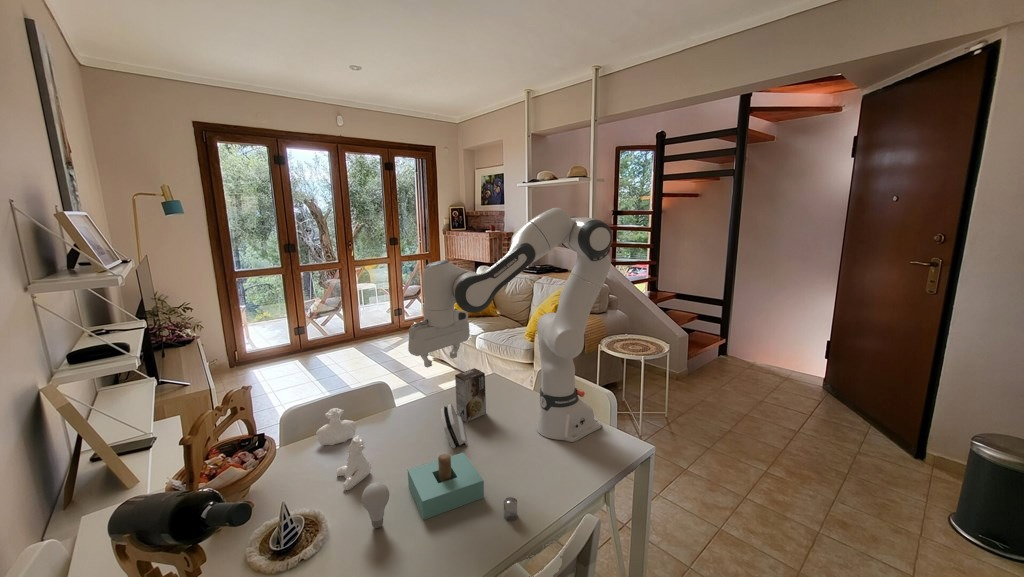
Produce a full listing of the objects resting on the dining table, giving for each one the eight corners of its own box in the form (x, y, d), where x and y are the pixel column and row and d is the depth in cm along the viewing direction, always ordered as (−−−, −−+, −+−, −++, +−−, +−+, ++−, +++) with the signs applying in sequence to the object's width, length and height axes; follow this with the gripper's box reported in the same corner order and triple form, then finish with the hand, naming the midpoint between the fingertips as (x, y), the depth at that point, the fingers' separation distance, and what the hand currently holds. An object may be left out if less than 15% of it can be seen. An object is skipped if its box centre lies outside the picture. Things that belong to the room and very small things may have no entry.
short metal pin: (513, 509, 100) (513, 495, 100) (519, 518, 98) (519, 503, 97) (501, 514, 99) (501, 499, 98) (507, 522, 96) (507, 508, 95)
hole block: (463, 468, 117) (463, 452, 116) (483, 497, 105) (483, 480, 104) (408, 485, 109) (407, 469, 108) (423, 519, 97) (422, 501, 96)
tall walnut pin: (449, 486, 109) (448, 452, 107) (453, 493, 106) (452, 458, 104) (438, 490, 108) (436, 456, 106) (441, 497, 105) (440, 462, 103)
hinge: (468, 446, 128) (456, 420, 125) (454, 452, 127) (442, 426, 125) (462, 420, 144) (452, 396, 141) (450, 425, 143) (439, 402, 141)
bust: (357, 440, 135) (351, 407, 140) (359, 436, 130) (353, 401, 134) (317, 451, 130) (313, 416, 134) (318, 447, 124) (313, 410, 128)
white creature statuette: (335, 474, 114) (331, 435, 112) (365, 463, 120) (362, 425, 117) (344, 492, 107) (340, 451, 105) (377, 479, 112) (374, 439, 110)
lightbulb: (374, 514, 99) (371, 474, 97) (396, 520, 97) (393, 479, 95) (358, 533, 93) (354, 491, 91) (381, 539, 91) (378, 496, 89)
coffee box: (475, 408, 153) (474, 367, 150) (486, 414, 148) (485, 372, 145) (455, 416, 147) (454, 374, 144) (466, 422, 142) (465, 379, 139)
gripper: (415, 326, 108) (418, 375, 110) (472, 312, 123) (473, 355, 125) (402, 322, 112) (405, 369, 114) (458, 308, 127) (459, 351, 129)
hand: (441, 361), depth 120 cm, fingers open, 8 cm apart
